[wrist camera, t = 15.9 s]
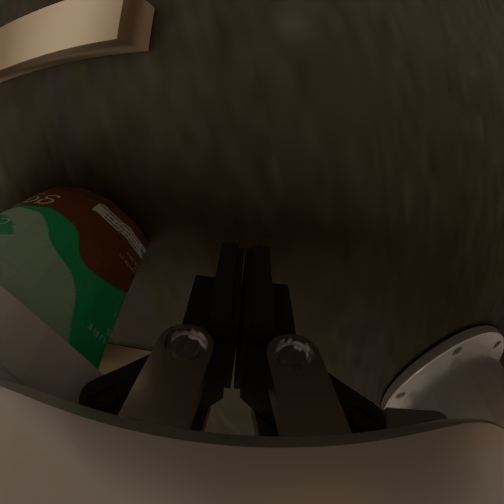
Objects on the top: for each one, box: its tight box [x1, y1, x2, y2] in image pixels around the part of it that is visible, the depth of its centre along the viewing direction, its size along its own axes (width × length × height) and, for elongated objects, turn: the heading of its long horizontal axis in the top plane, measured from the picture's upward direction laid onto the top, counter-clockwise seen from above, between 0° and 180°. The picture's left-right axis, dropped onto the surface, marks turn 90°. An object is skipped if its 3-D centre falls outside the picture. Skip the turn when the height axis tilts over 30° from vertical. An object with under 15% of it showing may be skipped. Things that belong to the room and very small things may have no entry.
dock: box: [0, 0, 155, 375], centre depth 11 cm, size 11×20×3 cm, turn 174°
